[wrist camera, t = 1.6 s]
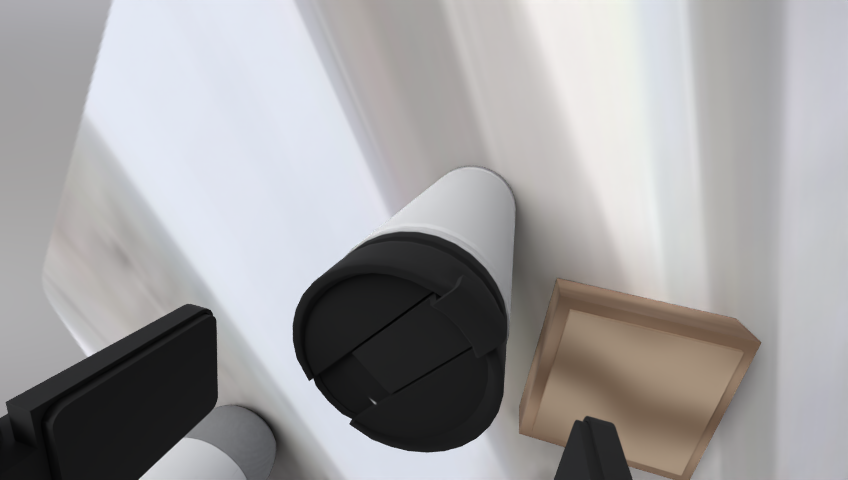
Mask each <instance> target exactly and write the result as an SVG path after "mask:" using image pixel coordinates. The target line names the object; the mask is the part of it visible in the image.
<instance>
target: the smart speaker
mask: <svg viewBox="0 0 848 480" xmlns="http://www.w3.org/2000/svg"><path fill="white" fill-rule="evenodd" d="M275 456H276V442H275V438H274V435H273V433H272V431H271V429H270V428H269V426H268V425H267V423H266V422H265V421H264V420H263V419H262V418H261V417H260V416H258V415H257V414H256V413H254V412H253V411H251V410H249V409H247V408H244V407H240V406H235V405H225V406H220V407H217V408H214V409H213V410H212V411H211V412H210V413H209V414H208V415H207V416H206V417H205V418H204V419H203V420H202V421H200V422H199V423H198V424H197V425H196V426H195V427H194V428H193V429H192V430H191V431H190V432H189V433H188V434H187V435H186V436H184V437H183V438H182V439H181V440H180V441H179V442H178V443H177V444H176V445H175V446H174V447H173V448H172V449H171V450H170V451H168V452H167V453H166V454H165V455H164V456H163V457H162V458H161V459H160V460H159V461H158V462H157V463H156V464H155V465H154V466H152V467H151V468H150V469H149V470H148V471H147V472H146V473H145V474H144V475H143V476H142V477H141V478H140V479H139V480H267V478H268V476H269V474H270V472H271V470H272V467H273V464H274V461H275Z"/></svg>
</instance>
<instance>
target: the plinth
mask: <svg viewBox="0 0 848 480" xmlns="http://www.w3.org/2000/svg"><path fill="white" fill-rule="evenodd" d="M760 344H761V342H760V341H759V340H758V339H757V338H756V337H755V336H754V335H753V334H752V333H751V332H750V331H749V330H748V329H747V328H745V327H744V326H743V325H742V324H741V323H740V322H739V321H738V320H737V319H735V318H731V317H726V316H722V315H717V314H713V313H709V312H704V311H700V310H695V309H691V308H687V307H682V306H678V305H673V304H669V303H665V302H660V301H656V300H651V299H647V298H643V297H638V296H634V295H629V294H625V293H621V292H616V291H612V290H607V289H603V288H599V287H594V286H590V285H585V284H581V283H577V282H572V281H568V280H563V279H559V278H557V280H556V283H555V287H554V290H553V293H552V297H551V300H550V304H549V307H548V311H547V314H546V317H545V321H544V324H543V328H542V331H541V334H540V338H539V341H538V345H537V348H536V351H535V355H534V358H533V362H532V365H531V368H530V372H529V375H528V379H527V382H526V385H525V389H524V392H523V396H522V399H521V402H520V406H519V434H523V435H526V436H529V437H533V438H536V439H539V440H543V441H546V442H550V443H553V444H556V445H560V446H563V447H566V444H567V441H568V438H569V435H570V432H571V429H572V427H573V424H574V422H575V420H580V421H583V419H584V418H585V416H590V417H594V418H597V419H601V420H604V421H608V422H612V423H613V424H614V425H615V427H616V430H617V433H618V436H619V439H620V442H621V445H622V448H623V452H624V455H625V458H626V461H627V464H628V466H630V467H633V468H636V469H640V470H643V471H647V472H650V473H653V474H657V475H660V476H663V477H667V478H670V479H673V480H690V478H691V476H692V474H693V472H694V470H695V469H696V467H697V465H698V463H699V461H700V459H701V457H702V455H703V453H704V451H705V449H706V448H707V446H708V444H709V442H710V440H711V438H712V436H713V434H714V432H715V430H716V428H717V427H718V425H719V423H720V421H721V419H722V417H723V415H724V413H725V411H726V409H727V407H728V406H729V404H730V402H731V400H732V398H733V396H734V394H735V392H736V390H737V388H738V386H739V385H740V383H741V381H742V379H743V377H744V375H745V373H746V371H747V369H748V367H749V365H750V364H751V362H752V360H753V358H754V356H755V354H756V352H757V350H758V348H759V346H760Z"/></svg>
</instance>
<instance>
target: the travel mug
mask: <svg viewBox="0 0 848 480" xmlns="http://www.w3.org/2000/svg"><path fill="white" fill-rule="evenodd" d="M515 214H516V204H515V198H514V195H513V193H512V190H511V188H510V187H509V185H508V184H507V182H506V181H505V180H504V179H503V178H502V177H501V176H500V175H499V174H497V173H496V172H494V171H492V170H490V169H487V168H485V167H480V166H464V167H459V168H457V169H454V170H452V171H450V172H449V173H447V174H446V175H445V176H443V177H442V178H441V179H439V180H438V181H437V182H436V183H434V184H433V185H432V186H431V187H429V188H428V189H427V190H426V191H424V192H423V193H422V194H420V195H419V196H418V197H417V198H415V199H414V200H413V201H412V202H410V203H409V204H408V205H407V206H405V207H404V208H403V209H402V210H400V211H399V212H398V213H397V214H395V215H394V216H393V217H392V218H390V219H389V220H388V221H386V222H385V223H384V224H383V225H381V226H380V227H379V228H378V229H376V230H375V231H374V232H373V233H371V234H370V235H369V236H368V237H366V238H365V239H364V240H363V241H361V242H360V243H359V244H358V245H356V246H355V247H354V248H352V250H351V251H350V252H349V253H348V254H347V255H346V256H345V257H344V258H343V259H342V260H340V261H339V262H338V263H337V264H335V265H334V266H333V267H332V268H330V269H329V270H328V271H327V272H325V273H324V274H323V275H322V276H320V277H319V278H318V279H317V280H315V281H314V282H313V283H312V285H311V286H310V287H309V288H308V289H307V290H306V291H305V293H304V294H303V295H302V297H301V300H300V302H299V304H298V306H297V308H296V311H295V316H294V321H293V343H294V348H295V352H296V357H297V360H298V362H299V363H300V365H301V367H302V369H303V371H304V372H305V374H306V376H307V378H308V380H309V381H310V380H311V379H314V381H315V384H316V386H317V388H318V389H319V390H320V391H321V393H322V394H323V395H324V396H325V398H326V399H327V400H328V401H329V402H330V403H331V404H332V405H333V406H334V407H335V408H336V409H337V410H338V411H340V412H341V413H342V414H343V415H345V416H347V417H349V418H351V419H352V420H351V422H350V425H351V426H353V427H354V428H356V429H357V430H359V431H360V432H362V433H363V434H365V435H366V436H368V437H369V438H371V439H372V440H375V441H377V442H380V443H382V444H385V445H388V446H390V447H394V448H399V449H403V450H407V451H415V452H439V451H447V450H450V449H454V448H457V447H461V446H463V445H465V444H467V443H469V442H471V441H472V440H474V439H476V438H477V437H479V436H480V435H481V434H482V433H483V432H484V431H485V430H486V429H487V428H488V427H489V426H490V425H491V423H492V422H493V420H494V418H495V417H496V415H497V413H498V412H499V408H500V405H501V401H502V398H503V393H504V376H505V361H506V344H507V340H508V336H509V322H510V306H511V288H512V269H513V251H514V232H515Z"/></svg>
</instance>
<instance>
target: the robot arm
mask: <svg viewBox="0 0 848 480" xmlns="http://www.w3.org/2000/svg"><path fill="white" fill-rule="evenodd" d="M217 399H218V381H217V327H216V319H215V317H213V313H212V312H211V310H209V309H207V308H203V307H200V306H196V305H192V304H186V305H184V306H182V307H180V308H178V309H176V310H174V311H173V312H171V313H169V314H167V315H165V316H163V317H162V318H160V319H158V320H156V321H154V322H152V323H150V324H149V325H147V326H145V327H143V328H141V329H139V330H138V331H136V332H134V333H132V334H130V335H128V336H127V337H125V338H123V339H121V340H119V341H117V342H116V343H114V344H112V345H110V346H108V347H106V348H104V349H103V350H101V351H99V352H97V353H95V354H93V355H92V356H90V357H88V358H86V359H84V360H82V361H81V362H79V363H77V364H75V365H73V366H71V367H70V368H68V369H66V370H64V371H62V372H60V373H59V374H57V375H55V376H53V377H51V378H49V379H47V380H46V381H44V382H42V383H40V384H38V385H36V386H35V387H33V388H31V389H29V390H27V391H25V392H24V393H22V394H20V395H18V396H16V397H14V398H13V399H11V400H9V401H7V402H6V406H7V410H8V414H7V415H5V416H3V417H1V418H0V480H139V479H140V478H141V477H142V476H143V475H144V474H145V473H146V472H147V471H148V470H149V469H150V468H151V467H152V466H154V465H155V464H156V463H157V462H158V461H159V460H160V459H161V458H162V457H163V456H164V455H165V454H166V453H167V452H168V451H170V450H171V449H172V448H173V447H174V446H175V445H176V444H177V443H178V442H179V441H180V440H181V439H182V438H183V437H184V436H186V435H187V434H188V433H189V432H190V431H191V430H192V429H193V428H194V427H195V426H196V425H197V424H198V423H199V422H200V421H202V420H203V419H204V418H205V417H206V416H207V415H208V414H209V413H210V412H211V411H212V410H213V408H214V407H215V405H216V402H217ZM554 480H632V476H631V473H630V470H629V467H628V464H627V461H626V458H625V455H624V452H623V448H622V445H621V442H620V439H619V436H618V433H617V430H616V427H615V425H614V424H613V423H612V422H608V421H604V420H601V419H597V418H594V417H590V416H585V418H584V419H583V421H580V420H575V422H574V424H573V427H572V429H571V432H570V435H569V438H568V441H567V444H566V447H565V449H564V452H563V455H562V458H561V461H560V464H559V467H558V469H557V472H556V475H555V478H554Z"/></svg>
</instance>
